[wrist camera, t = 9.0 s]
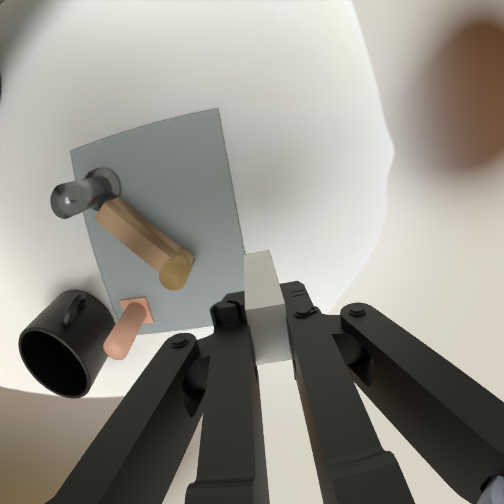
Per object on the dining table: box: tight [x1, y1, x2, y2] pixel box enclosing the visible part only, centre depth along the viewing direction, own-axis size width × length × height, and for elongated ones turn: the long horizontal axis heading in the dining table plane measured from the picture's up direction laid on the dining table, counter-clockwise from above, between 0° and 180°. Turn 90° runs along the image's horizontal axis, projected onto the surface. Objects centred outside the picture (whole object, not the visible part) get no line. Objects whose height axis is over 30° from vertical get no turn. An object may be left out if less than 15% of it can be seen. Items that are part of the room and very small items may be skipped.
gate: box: [94, 197, 195, 291], centre depth 25 cm, size 10×2×4 cm, turn 49°
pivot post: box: [51, 167, 121, 219], centre depth 23 cm, size 4×4×8 cm
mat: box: [70, 108, 245, 335], centre depth 29 cm, size 22×16×1 cm
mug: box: [18, 291, 115, 399], centre depth 28 cm, size 9×12×9 cm
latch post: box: [103, 296, 154, 360], centre depth 28 cm, size 3×3×8 cm
